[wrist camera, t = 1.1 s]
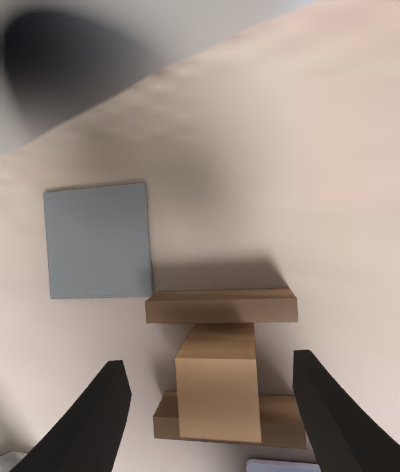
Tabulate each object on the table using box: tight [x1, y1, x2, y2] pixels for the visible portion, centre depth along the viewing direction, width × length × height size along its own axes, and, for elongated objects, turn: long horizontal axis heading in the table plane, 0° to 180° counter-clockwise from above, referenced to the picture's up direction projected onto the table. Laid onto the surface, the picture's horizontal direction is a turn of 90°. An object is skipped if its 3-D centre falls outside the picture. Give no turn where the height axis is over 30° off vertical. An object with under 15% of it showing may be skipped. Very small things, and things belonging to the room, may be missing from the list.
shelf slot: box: [145, 288, 306, 449], centre depth 19 cm, size 10×10×3 cm
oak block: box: [175, 322, 261, 443], centre depth 18 cm, size 4×4×6 cm
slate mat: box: [43, 182, 153, 299], centre depth 22 cm, size 9×9×1 cm
